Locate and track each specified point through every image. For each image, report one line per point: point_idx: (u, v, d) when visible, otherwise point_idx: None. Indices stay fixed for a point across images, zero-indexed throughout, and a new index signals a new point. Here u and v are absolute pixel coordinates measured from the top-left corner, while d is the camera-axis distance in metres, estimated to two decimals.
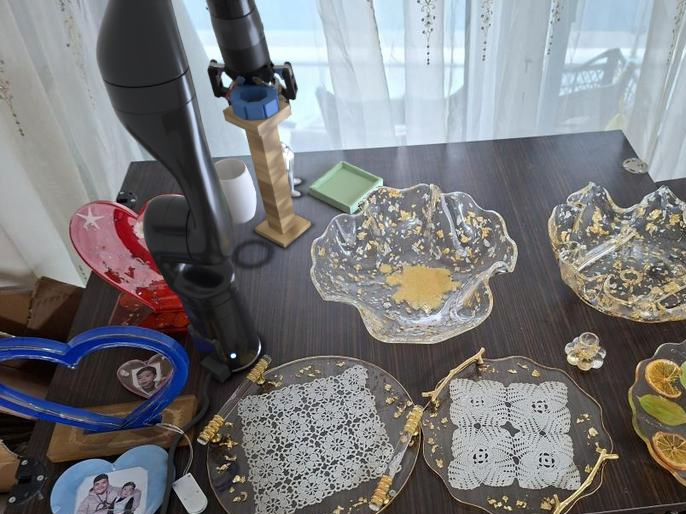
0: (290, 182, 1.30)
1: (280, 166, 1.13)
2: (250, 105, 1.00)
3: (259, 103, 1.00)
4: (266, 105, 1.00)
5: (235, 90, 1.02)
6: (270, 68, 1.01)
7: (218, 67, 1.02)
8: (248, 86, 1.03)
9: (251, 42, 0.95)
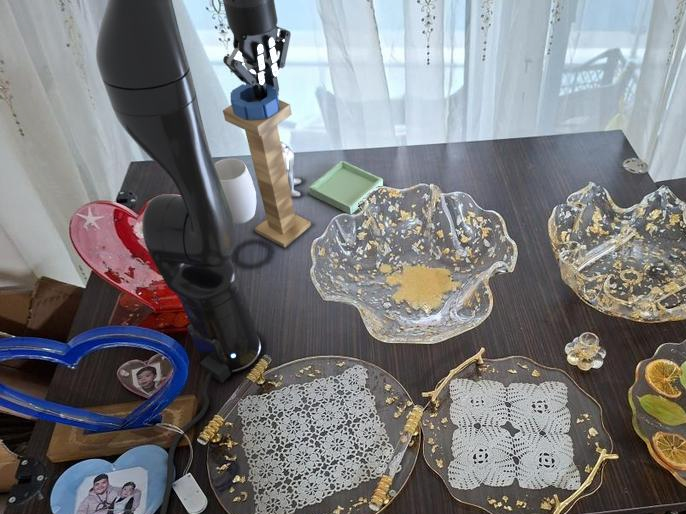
0: (290, 182, 1.30)
1: (280, 166, 1.13)
2: (250, 105, 1.00)
3: (259, 103, 1.00)
4: (266, 105, 1.00)
5: (235, 90, 1.03)
6: None
7: (236, 54, 0.94)
8: (248, 86, 1.03)
9: None
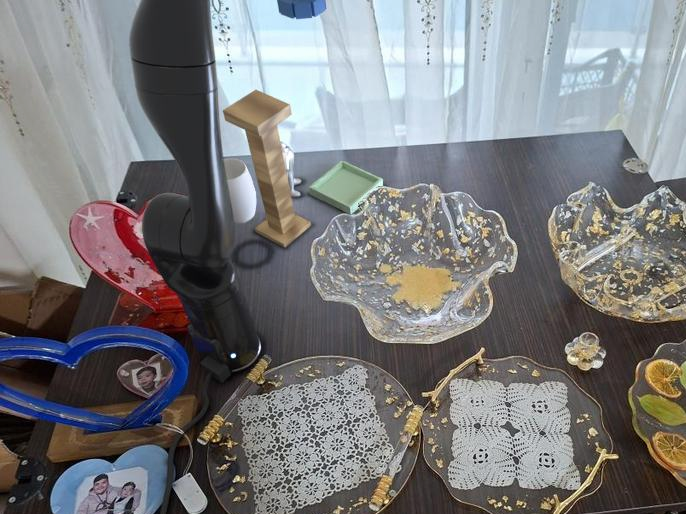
0: (290, 182, 1.30)
1: (280, 166, 1.13)
2: (298, 2, 0.96)
3: (307, 0, 0.96)
4: (314, 2, 0.96)
5: None
6: None
7: None
8: None
9: None
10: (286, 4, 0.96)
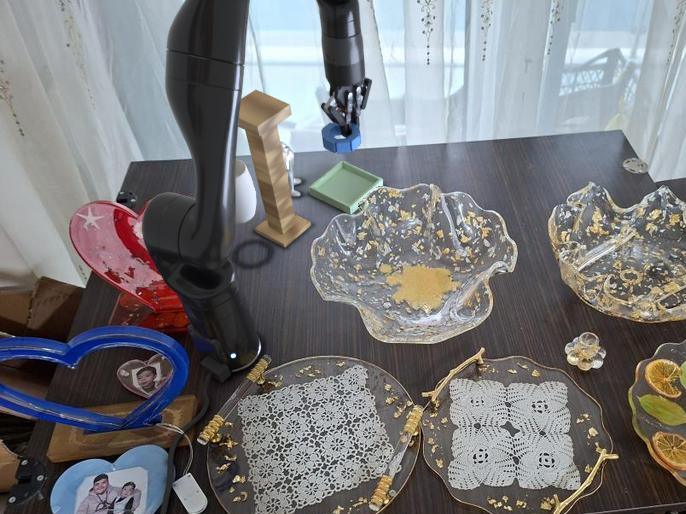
0: (290, 182, 1.30)
1: (280, 166, 1.13)
2: (339, 141, 1.20)
3: (346, 139, 1.21)
4: (352, 141, 1.20)
5: (325, 128, 1.23)
6: None
7: (332, 101, 1.15)
8: (335, 124, 1.23)
9: (363, 50, 1.12)
10: (330, 143, 1.20)
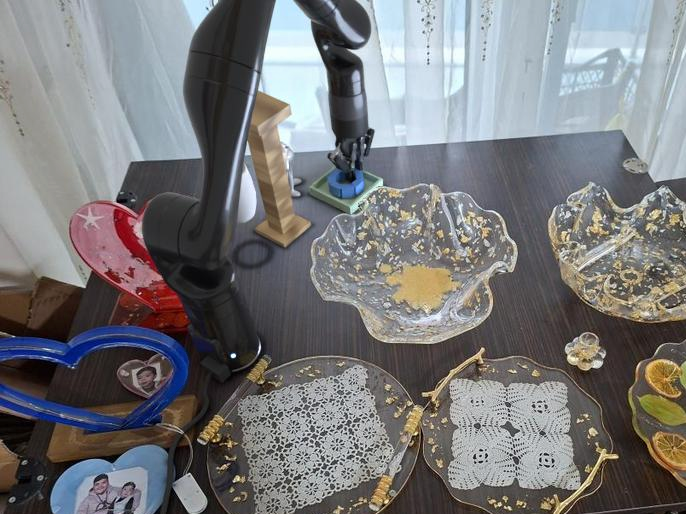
0: (290, 182, 1.30)
1: (280, 166, 1.13)
2: (344, 187, 1.29)
3: (351, 185, 1.29)
4: (356, 187, 1.29)
5: (330, 174, 1.31)
6: None
7: (337, 152, 1.23)
8: (340, 170, 1.32)
9: None
10: (335, 188, 1.29)
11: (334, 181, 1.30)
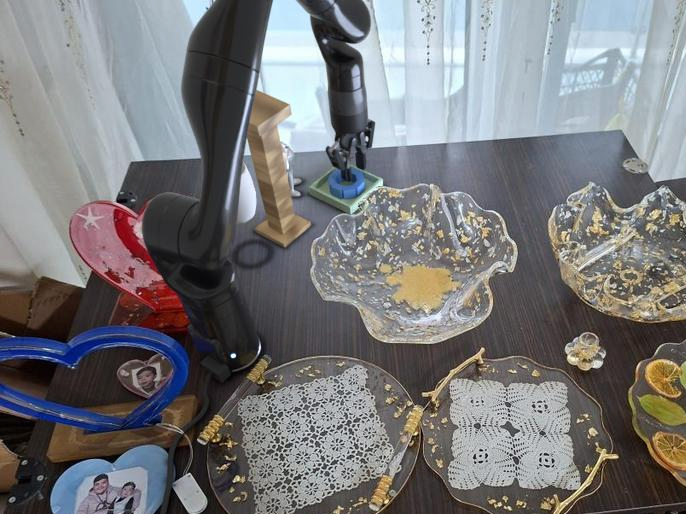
0: (290, 182, 1.30)
1: (280, 166, 1.13)
2: (346, 188, 1.29)
3: (352, 186, 1.30)
4: (358, 188, 1.30)
5: (331, 176, 1.32)
6: None
7: (336, 146, 1.22)
8: (340, 172, 1.33)
9: None
10: (337, 190, 1.29)
11: (335, 183, 1.30)
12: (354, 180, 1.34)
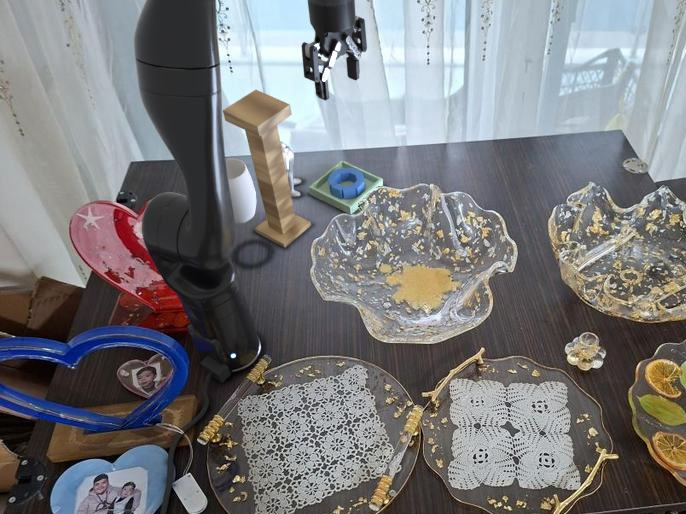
0: (290, 182, 1.30)
1: (280, 166, 1.13)
2: (346, 188, 1.29)
3: (352, 186, 1.30)
4: (358, 188, 1.30)
5: (331, 176, 1.32)
6: None
7: (316, 44, 0.99)
8: (340, 172, 1.33)
9: None
10: (337, 190, 1.29)
11: (335, 183, 1.30)
12: (354, 180, 1.34)
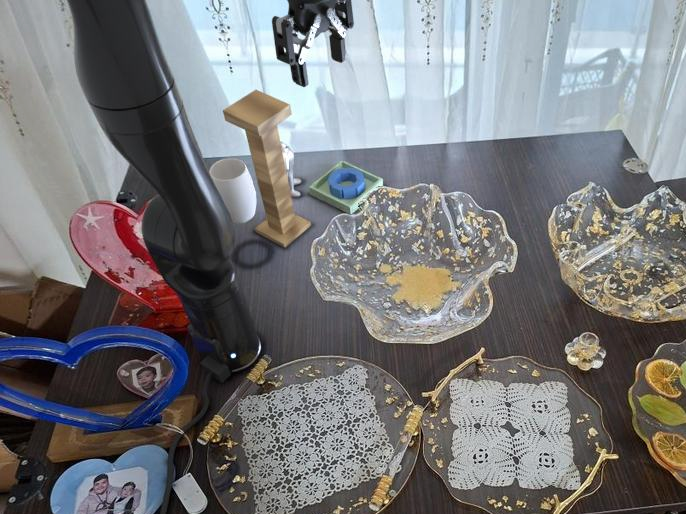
0: (290, 182, 1.30)
1: (280, 166, 1.13)
2: (346, 188, 1.29)
3: (352, 186, 1.30)
4: (358, 188, 1.30)
5: (331, 176, 1.32)
6: None
7: (290, 18, 0.81)
8: (340, 172, 1.33)
9: None
10: (337, 190, 1.29)
11: (335, 183, 1.30)
12: (354, 180, 1.34)
